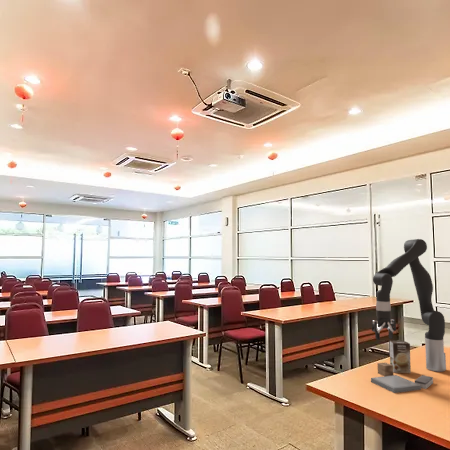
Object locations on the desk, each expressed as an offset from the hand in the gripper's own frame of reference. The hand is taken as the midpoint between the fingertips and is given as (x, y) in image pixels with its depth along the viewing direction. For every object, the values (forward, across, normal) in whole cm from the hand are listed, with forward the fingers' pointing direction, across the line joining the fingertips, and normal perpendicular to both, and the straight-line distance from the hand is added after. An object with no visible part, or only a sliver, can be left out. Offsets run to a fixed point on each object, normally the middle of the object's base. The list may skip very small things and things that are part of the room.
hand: (384, 339), depth 201 cm
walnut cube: (+19, 0, 0) cm, 19 cm away
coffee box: (+19, -12, -2) cm, 23 cm away
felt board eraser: (+19, -7, +19) cm, 28 cm away
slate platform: (+19, +8, +16) cm, 26 cm away
